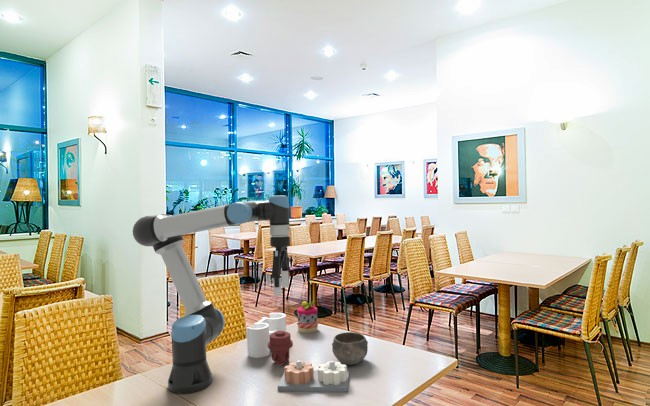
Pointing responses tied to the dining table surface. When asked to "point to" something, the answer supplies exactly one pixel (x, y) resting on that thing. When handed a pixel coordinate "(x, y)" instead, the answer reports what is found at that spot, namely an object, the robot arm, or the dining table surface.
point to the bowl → (350, 347)
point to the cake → (307, 318)
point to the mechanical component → (280, 346)
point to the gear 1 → (299, 373)
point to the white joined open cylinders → (264, 334)
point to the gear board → (313, 383)
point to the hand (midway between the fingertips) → (281, 291)
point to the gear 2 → (332, 373)
